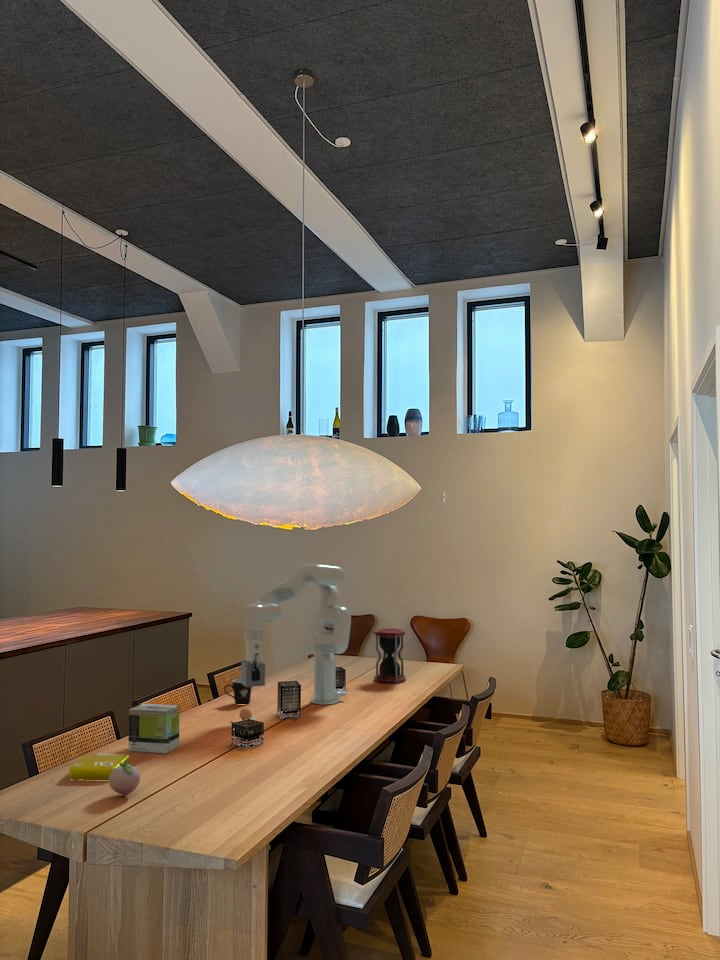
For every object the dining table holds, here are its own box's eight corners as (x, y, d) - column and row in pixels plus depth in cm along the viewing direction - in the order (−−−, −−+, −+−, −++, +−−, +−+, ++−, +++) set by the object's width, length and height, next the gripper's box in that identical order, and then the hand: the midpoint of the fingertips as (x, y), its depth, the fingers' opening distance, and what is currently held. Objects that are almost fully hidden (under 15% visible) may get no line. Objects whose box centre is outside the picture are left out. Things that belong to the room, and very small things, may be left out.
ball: (236, 709, 305) (240, 720, 306) (239, 712, 301) (243, 724, 301) (248, 704, 307) (252, 715, 307) (250, 707, 302) (254, 718, 303)
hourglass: (368, 678, 382) (368, 629, 384) (396, 676, 389) (396, 627, 390) (382, 685, 368) (382, 633, 369) (411, 682, 374) (411, 631, 376)
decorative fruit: (103, 795, 221) (103, 761, 222) (128, 788, 227) (129, 755, 228) (118, 804, 215) (118, 768, 215) (144, 796, 220) (144, 762, 221)
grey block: (259, 681, 310) (259, 660, 311) (264, 685, 303) (265, 663, 304) (241, 683, 307) (241, 661, 308) (246, 687, 300) (246, 664, 301)
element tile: (130, 767, 248) (130, 752, 249) (114, 782, 233) (114, 767, 234) (86, 766, 249) (86, 752, 249) (66, 782, 234) (66, 766, 234)
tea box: (180, 746, 270) (180, 704, 270) (165, 754, 260) (165, 711, 261) (142, 743, 274) (143, 702, 274) (127, 751, 264) (127, 708, 265)
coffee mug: (254, 701, 336) (254, 678, 336) (249, 706, 327) (249, 682, 328) (228, 700, 337) (228, 678, 337) (223, 705, 328) (223, 682, 329)
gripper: (268, 637, 300) (267, 682, 299) (256, 631, 316) (256, 674, 315) (250, 638, 297) (249, 683, 296) (239, 632, 313) (238, 675, 312)
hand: (253, 678), depth 305 cm, fingers closed on grey block, 7 cm apart
